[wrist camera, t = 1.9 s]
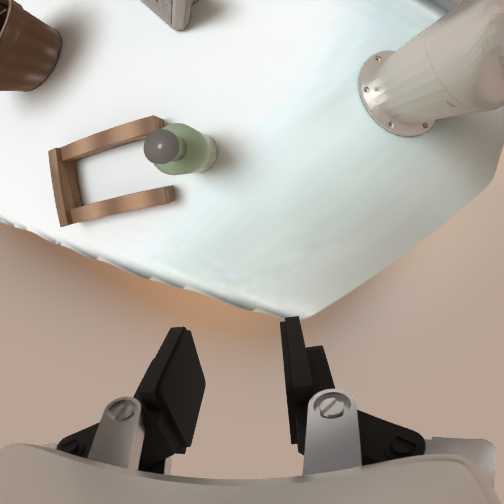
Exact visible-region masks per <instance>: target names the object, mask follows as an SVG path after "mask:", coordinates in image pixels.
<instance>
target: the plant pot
mask: <svg viewBox="0 0 504 504" xmlns="http://www.w3.org/2000/svg"><path fill="white" fill-rule="evenodd" d="M61 46H62V40H61V36H60V34H59V33H58V32H57V31H56V30H55V29H53V28H51V27H50V26H48V25H47V24H45V23H44V22H42V21H40V20H39V19H37V18H36V17H34V16H33V15H31V14H30V13H28V12H27V11H25V10H24V9H23V7H22V6H21V5H20V4H18V3H16V2H15V1H13V0H0V91H24V92H25V91H29V90H33V89H35V88H37V87H38V86H39V85H40V84H41V83H42V82H43V81H44V80H45V79H46V78H47V77H48V76H49V74H50V73H51V71H52V70H53V68H54V66H55V64H56V62H57V60H58V53H59V50H60V49H61Z"/></svg>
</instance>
